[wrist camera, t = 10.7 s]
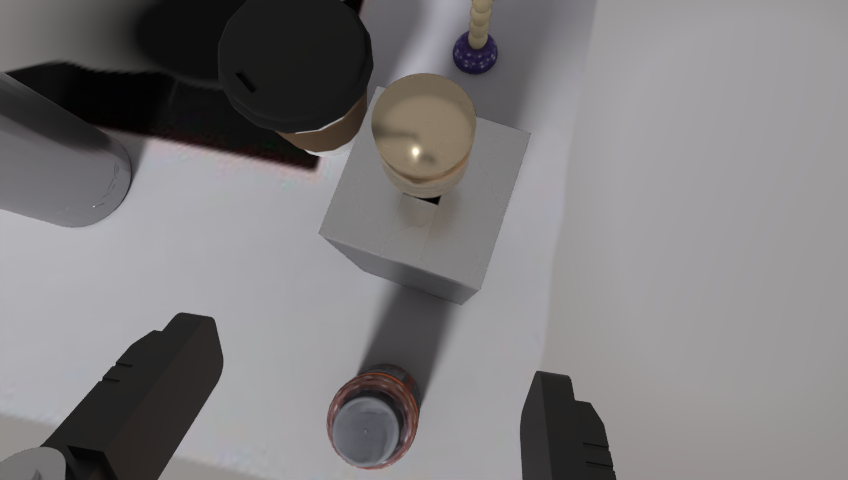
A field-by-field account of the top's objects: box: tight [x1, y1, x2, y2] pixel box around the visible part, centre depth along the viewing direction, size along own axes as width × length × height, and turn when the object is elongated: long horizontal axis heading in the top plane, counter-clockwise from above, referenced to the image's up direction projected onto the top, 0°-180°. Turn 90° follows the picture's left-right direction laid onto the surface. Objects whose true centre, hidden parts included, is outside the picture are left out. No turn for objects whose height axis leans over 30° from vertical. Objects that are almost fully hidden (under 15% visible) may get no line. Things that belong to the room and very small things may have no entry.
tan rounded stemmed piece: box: [371, 73, 476, 205], centre depth 26 cm, size 7×7×18 cm
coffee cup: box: [218, 0, 374, 157], centre depth 37 cm, size 11×11×12 cm
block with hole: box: [319, 86, 531, 305], centre depth 32 cm, size 9×9×16 cm
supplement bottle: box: [327, 364, 421, 470], centre depth 32 cm, size 6×6×11 cm
